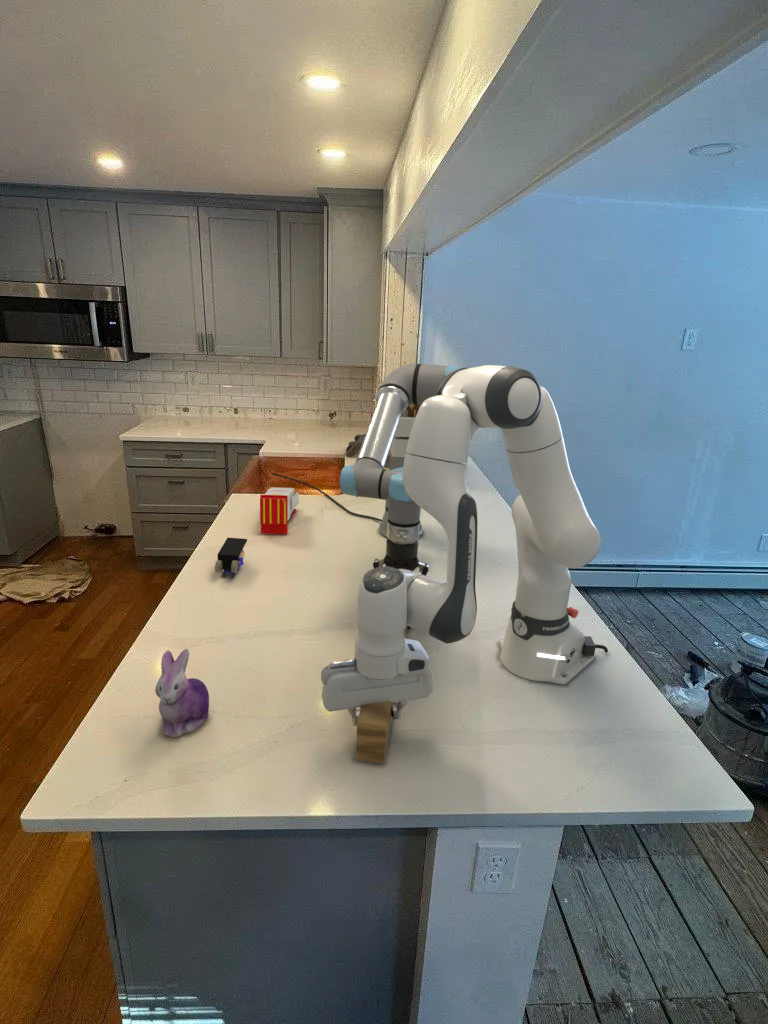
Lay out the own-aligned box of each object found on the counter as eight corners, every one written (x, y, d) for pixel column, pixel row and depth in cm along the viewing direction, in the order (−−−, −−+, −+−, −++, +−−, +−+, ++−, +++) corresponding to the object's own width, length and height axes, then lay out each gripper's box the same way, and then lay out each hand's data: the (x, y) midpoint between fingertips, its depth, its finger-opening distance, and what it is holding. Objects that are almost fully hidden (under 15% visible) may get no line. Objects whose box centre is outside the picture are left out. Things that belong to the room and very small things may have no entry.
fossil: (345, 440, 316) (366, 424, 311) (356, 453, 319) (377, 438, 314) (339, 453, 297) (361, 437, 292) (350, 467, 300) (373, 452, 295)
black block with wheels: (238, 584, 162) (249, 557, 175) (236, 562, 158) (247, 536, 172) (215, 584, 161) (227, 556, 175) (212, 561, 158) (225, 535, 171)
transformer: (382, 463, 289) (386, 382, 275) (445, 464, 293) (451, 384, 279) (390, 482, 257) (394, 392, 243) (460, 483, 261) (468, 394, 247)
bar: (390, 611, 149) (392, 583, 146) (409, 613, 148) (411, 585, 145) (355, 759, 99) (357, 722, 97) (384, 763, 99) (386, 725, 96)
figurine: (162, 747, 100) (154, 675, 95) (155, 711, 109) (147, 644, 103) (217, 731, 104) (212, 662, 99) (206, 698, 113) (201, 633, 108)
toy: (300, 483, 219) (290, 497, 190) (300, 516, 222) (290, 535, 192) (269, 482, 219) (254, 495, 189) (269, 515, 221) (254, 534, 192)
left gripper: (362, 541, 131) (359, 629, 139) (440, 548, 129) (433, 637, 137) (367, 529, 138) (364, 613, 146) (441, 536, 136) (434, 621, 144)
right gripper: (324, 674, 95) (324, 740, 100) (439, 659, 100) (433, 723, 105) (318, 653, 101) (318, 716, 105) (427, 640, 106) (422, 701, 111)
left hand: (397, 624), depth 141 cm, fingers closed on bar, 5 cm apart
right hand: (376, 720), depth 105 cm, fingers closed on bar, 6 cm apart
